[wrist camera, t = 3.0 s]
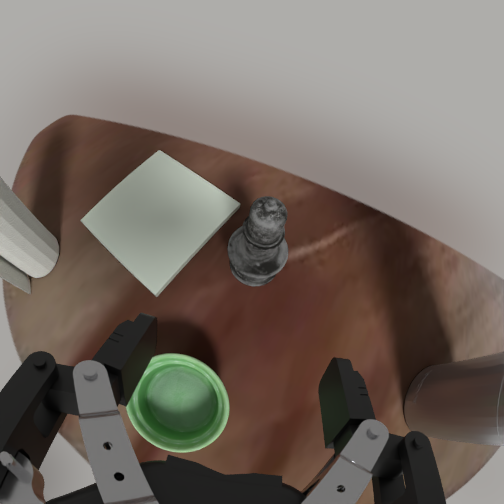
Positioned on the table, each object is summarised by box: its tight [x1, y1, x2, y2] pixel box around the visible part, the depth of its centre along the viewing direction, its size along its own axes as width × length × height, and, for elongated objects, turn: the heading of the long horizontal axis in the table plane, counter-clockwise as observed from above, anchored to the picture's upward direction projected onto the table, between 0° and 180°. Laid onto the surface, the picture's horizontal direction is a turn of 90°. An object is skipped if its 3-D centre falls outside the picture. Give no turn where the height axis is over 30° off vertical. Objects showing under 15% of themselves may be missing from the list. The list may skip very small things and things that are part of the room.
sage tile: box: [81, 150, 240, 297], centre depth 31 cm, size 14×14×1 cm
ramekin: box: [126, 353, 229, 452], centre depth 22 cm, size 9×9×4 cm
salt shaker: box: [228, 197, 288, 286], centre depth 25 cm, size 6×6×12 cm
